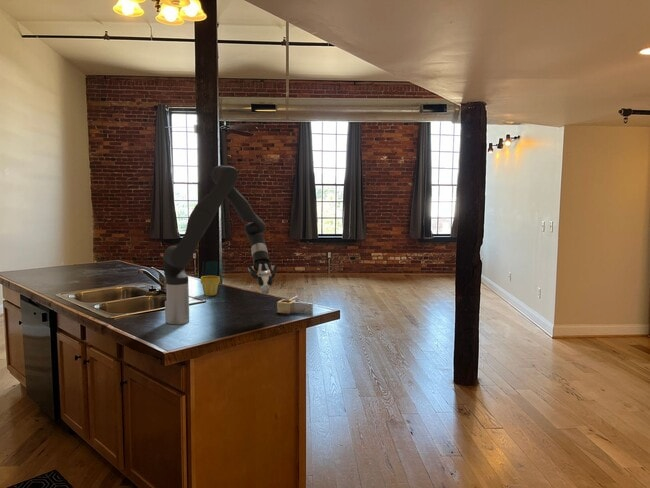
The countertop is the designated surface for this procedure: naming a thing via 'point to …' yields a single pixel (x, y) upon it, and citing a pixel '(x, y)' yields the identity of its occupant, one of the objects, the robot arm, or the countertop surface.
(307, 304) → the shallow cream box
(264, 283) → the pin
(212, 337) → the countertop surface
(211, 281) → the plant pot
